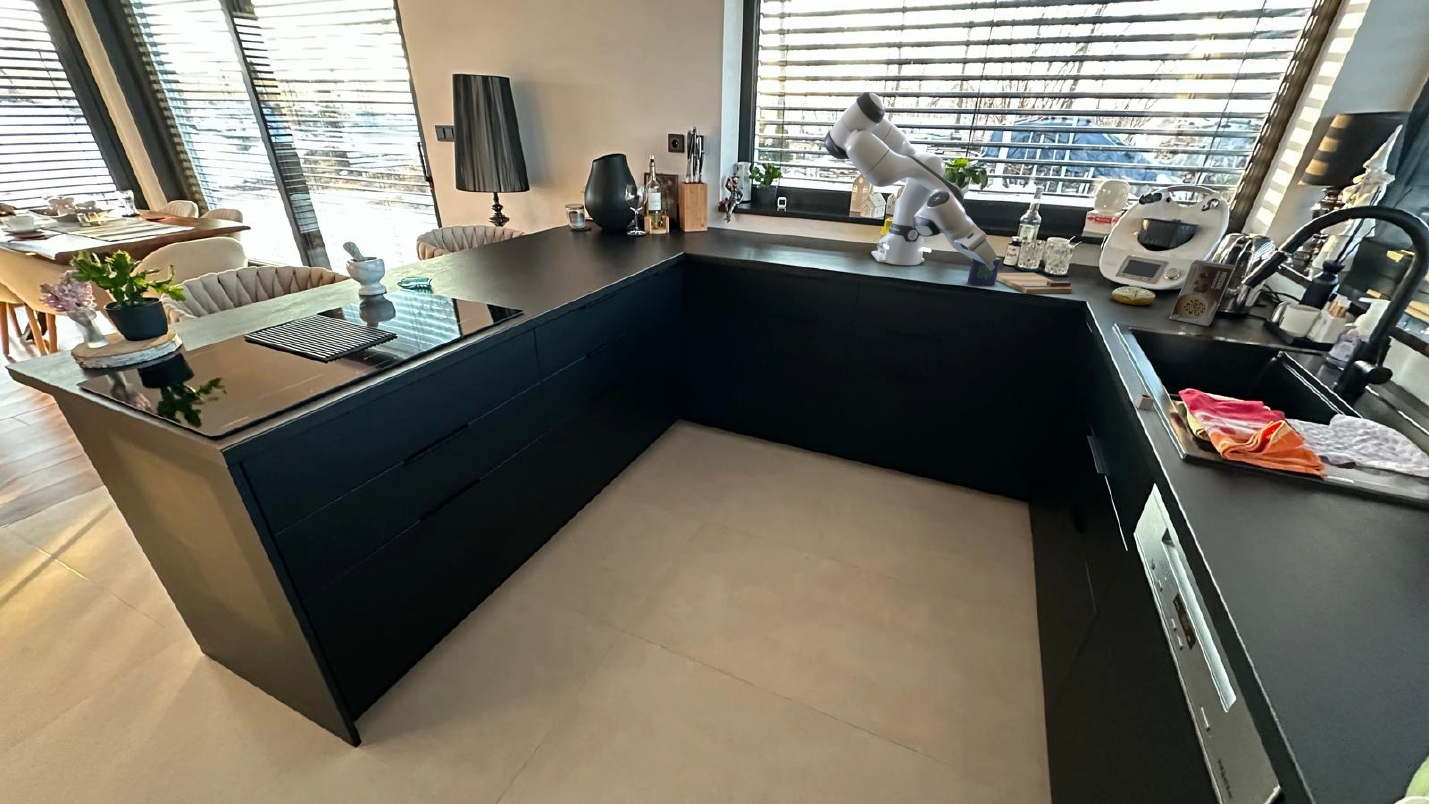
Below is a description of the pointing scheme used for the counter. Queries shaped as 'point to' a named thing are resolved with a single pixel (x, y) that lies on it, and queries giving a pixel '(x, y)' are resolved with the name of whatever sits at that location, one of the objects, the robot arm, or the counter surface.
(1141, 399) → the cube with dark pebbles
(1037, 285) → the knife
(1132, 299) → the decorated donut
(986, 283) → the flask
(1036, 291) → the cutting board
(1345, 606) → the counter surface
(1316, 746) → the counter surface
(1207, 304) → the coffee box
